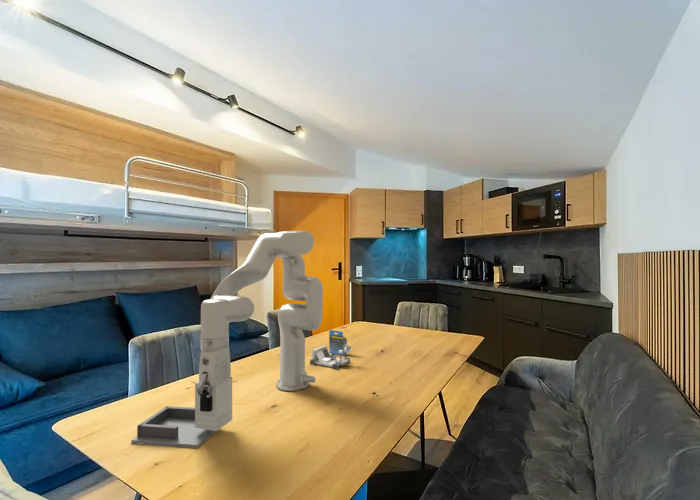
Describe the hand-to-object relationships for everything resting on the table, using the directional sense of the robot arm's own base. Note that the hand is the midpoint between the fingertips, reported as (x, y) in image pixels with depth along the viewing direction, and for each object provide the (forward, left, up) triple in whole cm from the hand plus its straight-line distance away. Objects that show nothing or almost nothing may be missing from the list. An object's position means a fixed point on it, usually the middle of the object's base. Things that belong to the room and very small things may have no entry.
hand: (214, 404), depth 98 cm
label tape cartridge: (-23, -83, -8) cm, 86 cm away
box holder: (+10, 0, -8) cm, 12 cm away
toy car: (-23, -66, -9) cm, 70 cm away
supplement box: (0, 0, -6) cm, 6 cm away
